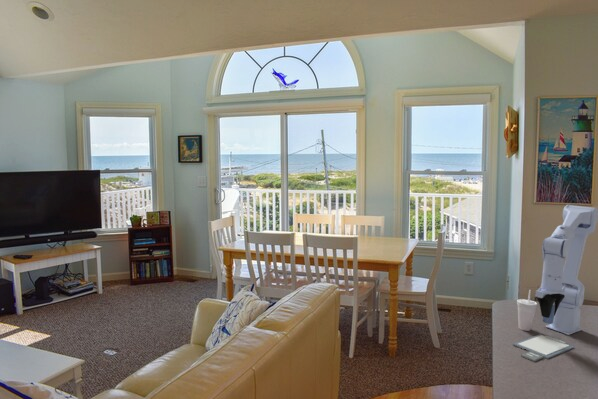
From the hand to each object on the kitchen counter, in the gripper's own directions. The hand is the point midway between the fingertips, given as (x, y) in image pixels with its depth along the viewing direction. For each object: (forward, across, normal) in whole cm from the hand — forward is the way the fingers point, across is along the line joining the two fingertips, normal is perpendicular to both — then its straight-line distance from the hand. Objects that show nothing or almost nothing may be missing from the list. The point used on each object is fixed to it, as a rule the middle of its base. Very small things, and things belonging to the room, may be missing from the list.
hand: (548, 315), depth 148 cm
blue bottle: (+2, 0, 0) cm, 2 cm away
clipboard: (+9, -4, -2) cm, 10 cm away
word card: (+9, -15, -4) cm, 18 cm away
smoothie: (+9, +5, +10) cm, 14 cm away
